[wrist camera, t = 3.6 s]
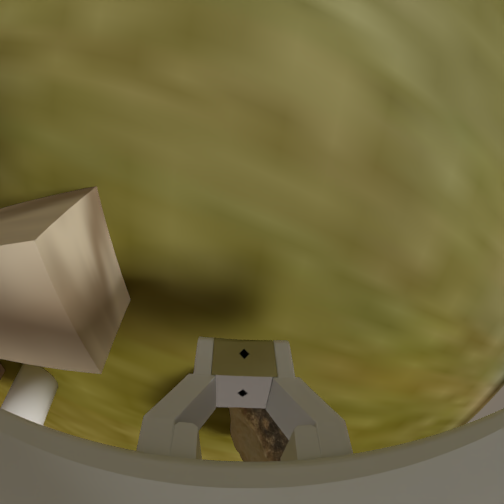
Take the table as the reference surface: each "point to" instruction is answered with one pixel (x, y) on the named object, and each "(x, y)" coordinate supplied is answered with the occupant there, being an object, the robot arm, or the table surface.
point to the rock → (256, 435)
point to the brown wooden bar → (1, 370)
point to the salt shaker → (31, 393)
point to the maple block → (59, 283)
